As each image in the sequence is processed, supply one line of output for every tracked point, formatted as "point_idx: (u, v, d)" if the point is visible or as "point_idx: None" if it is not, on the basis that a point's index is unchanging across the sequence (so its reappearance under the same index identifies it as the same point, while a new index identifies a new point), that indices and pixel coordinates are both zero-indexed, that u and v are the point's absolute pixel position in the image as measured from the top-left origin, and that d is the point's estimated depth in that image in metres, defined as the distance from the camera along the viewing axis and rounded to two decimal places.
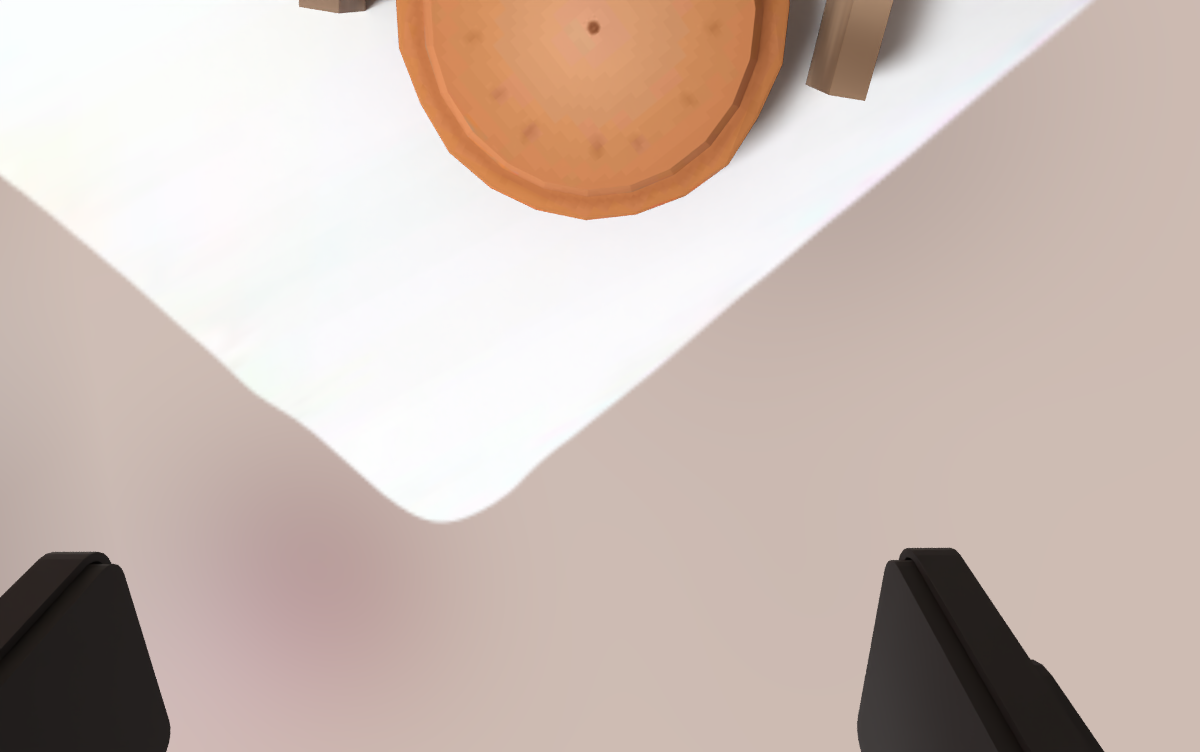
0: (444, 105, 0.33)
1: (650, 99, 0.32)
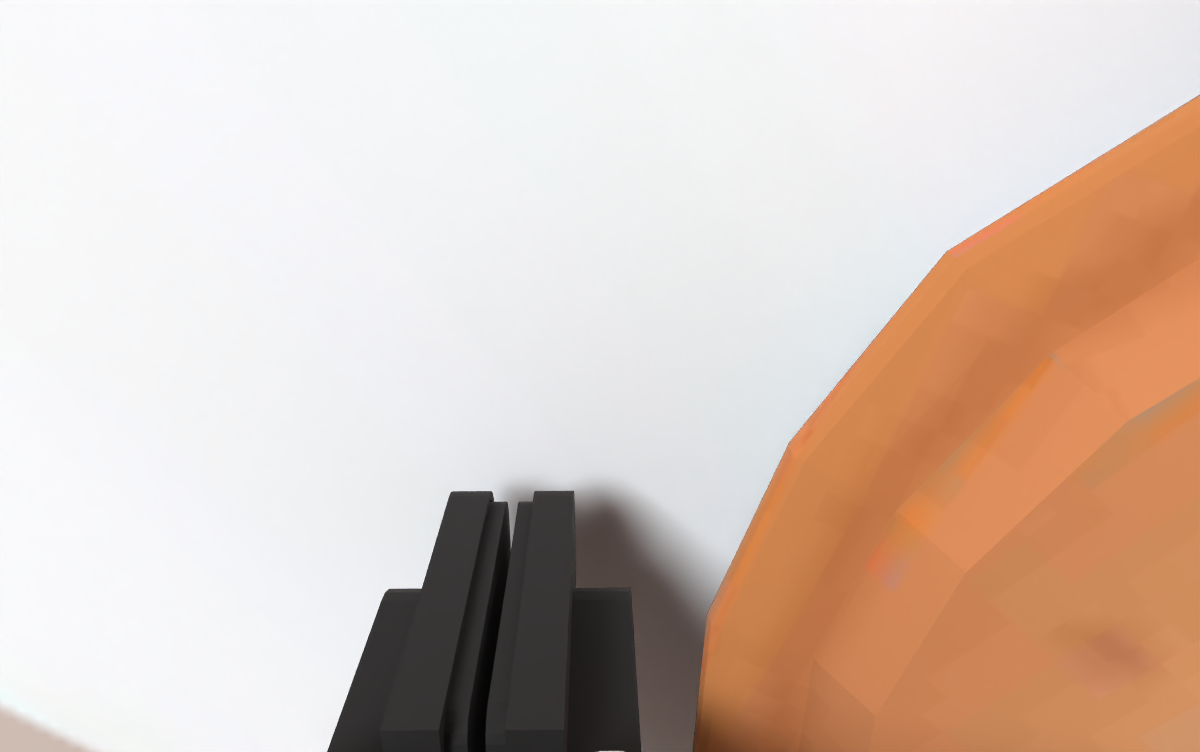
0: None
1: None
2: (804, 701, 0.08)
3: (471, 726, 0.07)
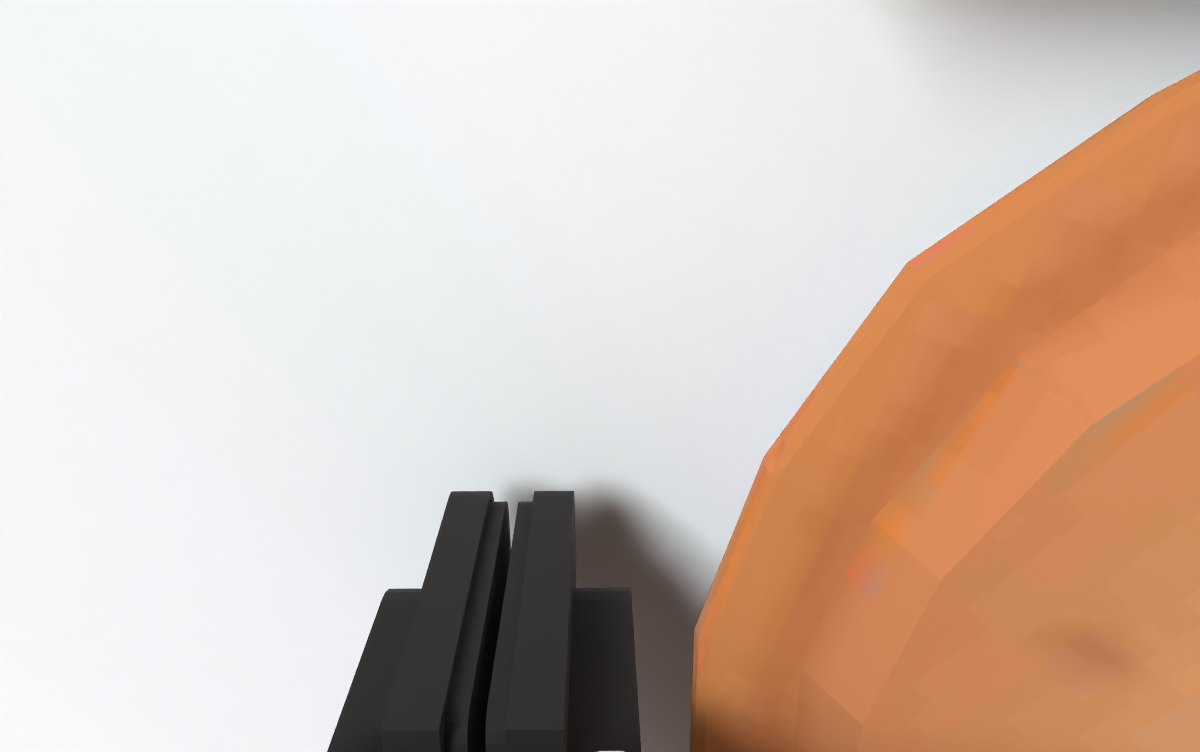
0: (1172, 231, 0.06)
1: None
2: (794, 710, 0.08)
3: (471, 726, 0.07)
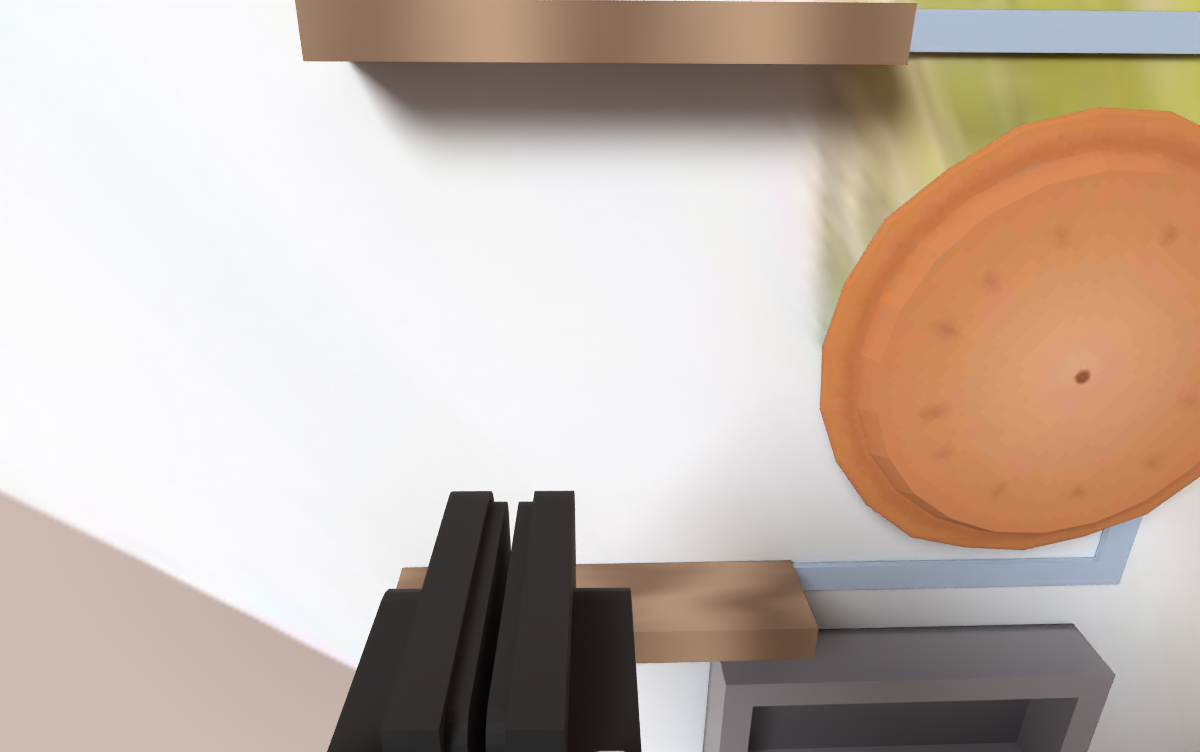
0: (955, 205, 0.24)
1: (997, 453, 0.26)
2: (857, 370, 0.26)
3: (471, 726, 0.07)
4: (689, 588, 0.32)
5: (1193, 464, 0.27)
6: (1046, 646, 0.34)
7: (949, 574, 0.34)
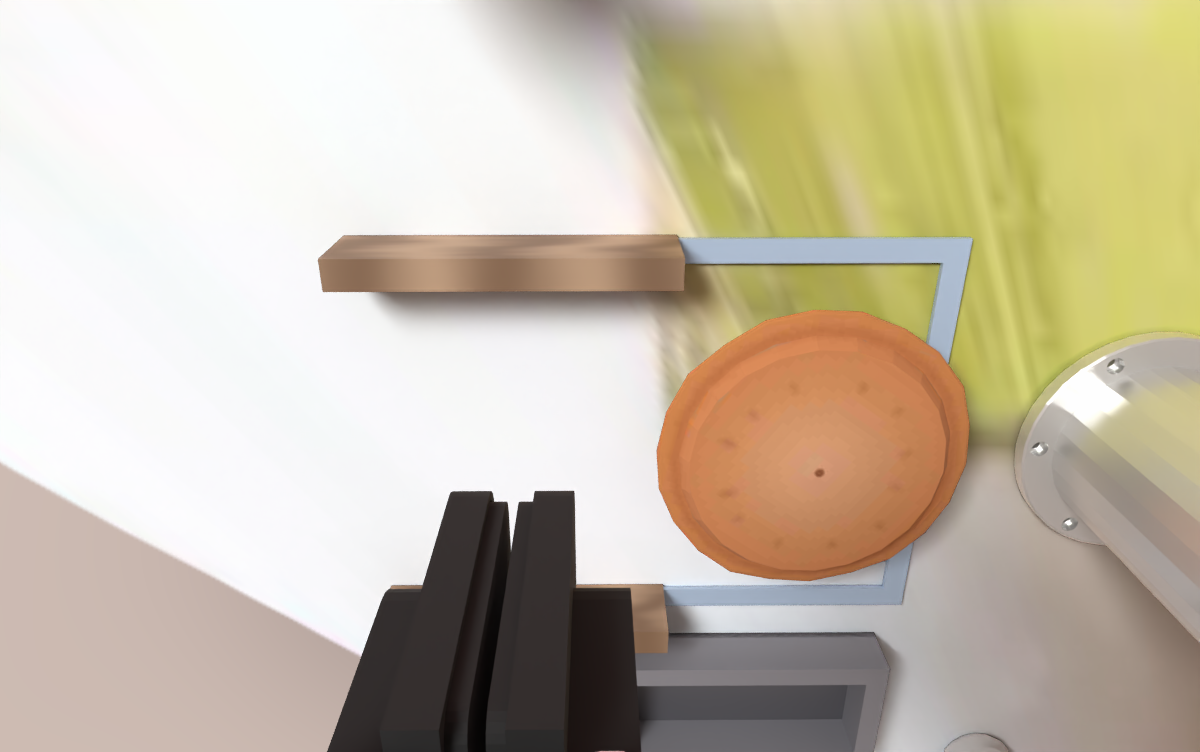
0: (729, 367, 0.38)
1: (773, 519, 0.40)
2: (678, 465, 0.40)
3: (471, 726, 0.07)
4: None
5: (908, 527, 0.41)
6: (848, 648, 0.48)
7: (776, 595, 0.47)
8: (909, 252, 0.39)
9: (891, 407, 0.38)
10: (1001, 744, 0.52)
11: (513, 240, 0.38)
